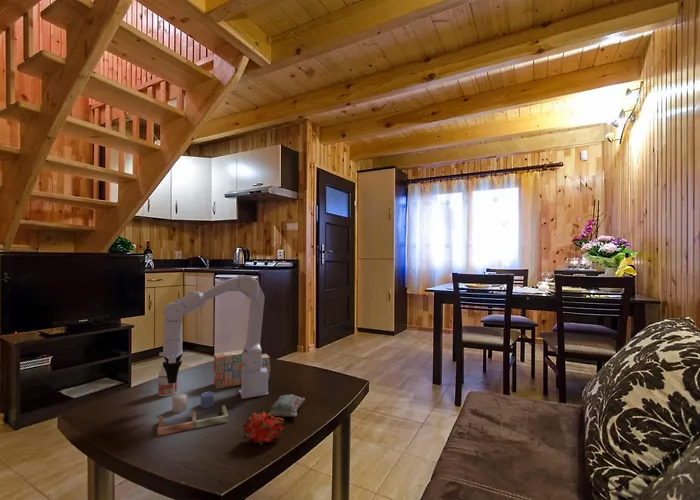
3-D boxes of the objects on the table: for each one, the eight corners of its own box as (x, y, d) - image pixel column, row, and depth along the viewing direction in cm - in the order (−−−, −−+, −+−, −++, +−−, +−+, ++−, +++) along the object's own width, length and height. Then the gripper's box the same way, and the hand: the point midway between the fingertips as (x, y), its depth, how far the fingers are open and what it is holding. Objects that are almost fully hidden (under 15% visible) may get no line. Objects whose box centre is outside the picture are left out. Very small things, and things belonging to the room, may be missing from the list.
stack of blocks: (266, 375, 149) (266, 346, 150) (270, 379, 144) (270, 349, 144) (213, 384, 139) (213, 353, 139) (215, 389, 133) (216, 356, 134)
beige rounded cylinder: (186, 406, 117) (186, 393, 117) (186, 411, 113) (187, 397, 113) (172, 409, 115) (172, 395, 115) (171, 414, 111) (172, 400, 111)
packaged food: (305, 406, 117) (305, 391, 118) (296, 422, 106) (295, 406, 106) (280, 405, 118) (280, 390, 118) (268, 421, 107) (268, 405, 107)
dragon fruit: (237, 449, 93) (282, 448, 97) (242, 443, 87) (289, 441, 91) (241, 415, 98) (283, 415, 102) (245, 407, 92) (289, 407, 96)
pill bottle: (168, 389, 132) (168, 360, 133) (180, 391, 130) (181, 362, 131) (154, 395, 127) (154, 365, 127) (167, 397, 125) (167, 366, 125)
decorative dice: (200, 404, 119) (200, 392, 119) (213, 402, 120) (213, 390, 121) (200, 409, 115) (201, 396, 115) (213, 406, 117) (213, 394, 117)
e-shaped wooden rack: (225, 410, 114) (225, 404, 114) (228, 421, 106) (228, 415, 106) (159, 422, 105) (159, 416, 105) (157, 435, 97) (157, 429, 97)
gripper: (160, 335, 121) (160, 374, 120) (157, 344, 108) (157, 388, 107) (183, 333, 124) (182, 371, 123) (182, 342, 111) (182, 384, 110)
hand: (172, 379), depth 116 cm, fingers open, 7 cm apart
